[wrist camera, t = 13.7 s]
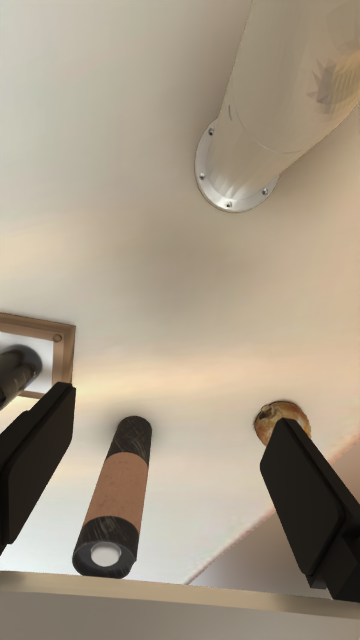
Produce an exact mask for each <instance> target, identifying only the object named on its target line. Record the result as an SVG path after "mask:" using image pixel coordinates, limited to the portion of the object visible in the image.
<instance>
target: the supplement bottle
mask: <svg viewBox="0 0 360 640" xmlns="http://www.w3.org/2000/svg"><path fill="white" fill-rule="evenodd" d="M41 369H42V365H41V361H40V358H39V357H38V355H37V354H36V353H35V352H34V351H33V350H31V349H29V348H27V347H25V346H20V345H13V346H8V347H6V348H4V349H2V350H0V411H1V410H2V409H3V408H4V407H5V406H7V405H8V404H9V403H10V402H11V401H12V400H13V399H14V398H15V397H17V396H18V395H19V394H20V393H21V392H22V391H23V390H24V389H25V388H27V387H28V386H29V385H30V384H31V383H32V382H33V381H34V380H35V379H36V378H37V377H38V376H39V375H40V373H41Z"/></svg>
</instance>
